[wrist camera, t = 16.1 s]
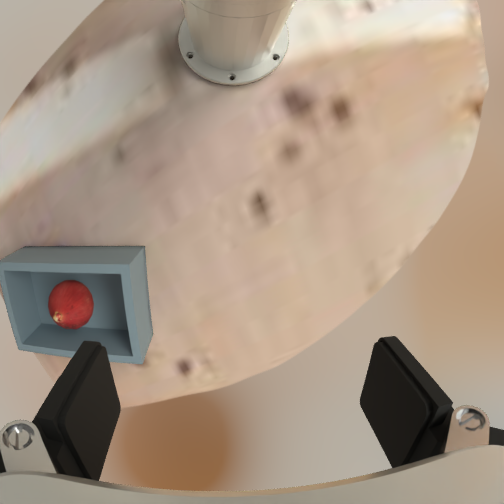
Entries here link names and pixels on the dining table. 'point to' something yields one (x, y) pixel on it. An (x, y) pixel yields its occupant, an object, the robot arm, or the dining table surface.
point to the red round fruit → (70, 304)
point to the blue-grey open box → (103, 292)
